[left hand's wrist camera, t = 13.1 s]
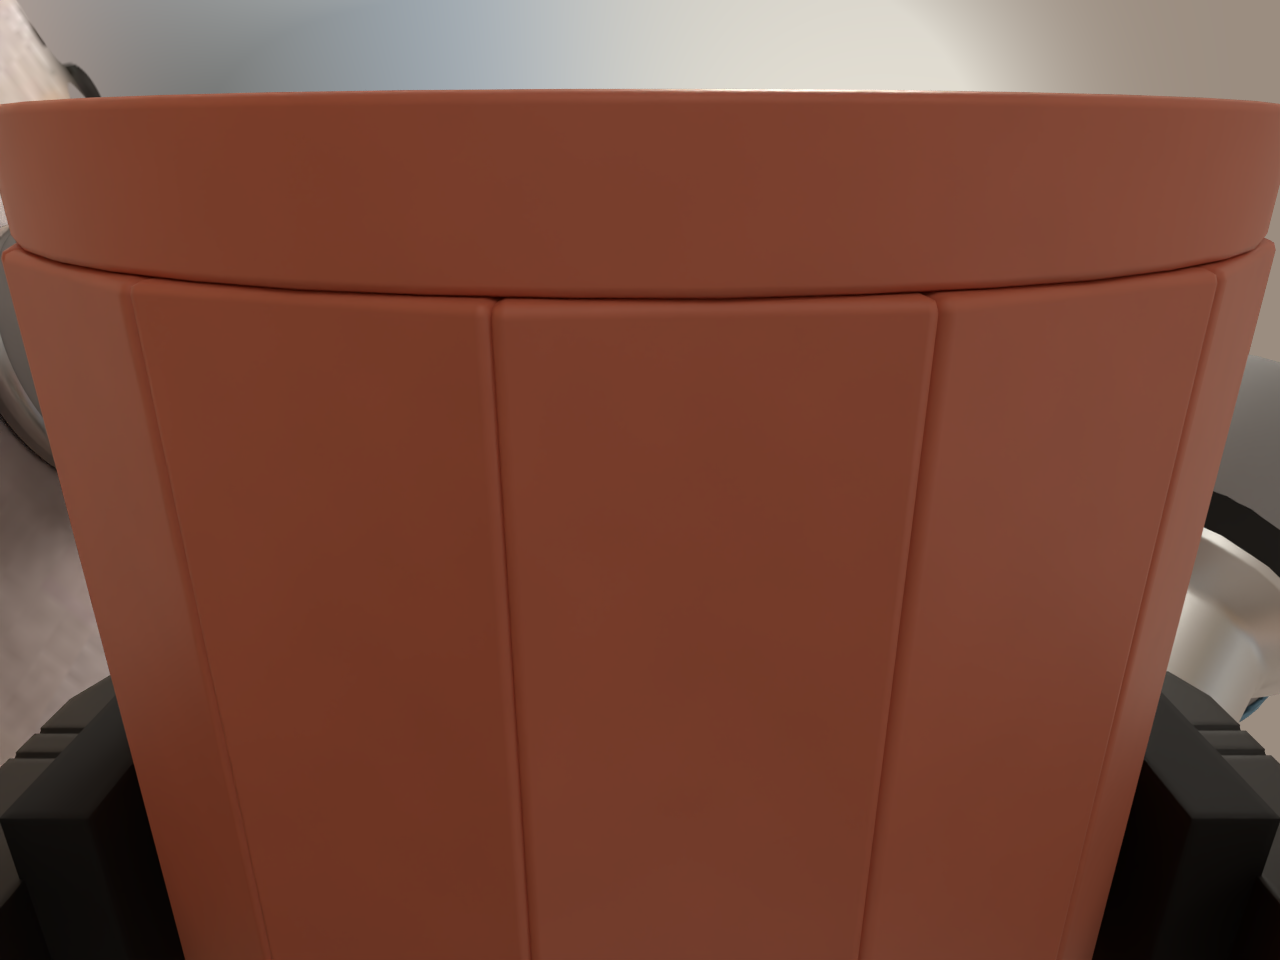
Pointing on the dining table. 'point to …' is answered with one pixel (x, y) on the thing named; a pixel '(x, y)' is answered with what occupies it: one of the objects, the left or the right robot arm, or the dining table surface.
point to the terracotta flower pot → (638, 499)
